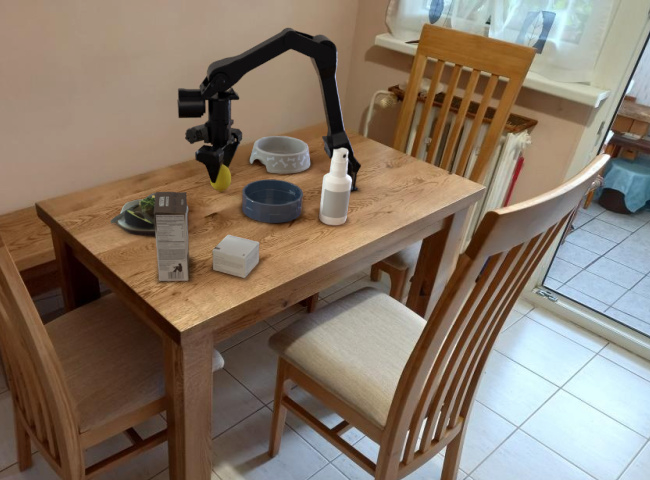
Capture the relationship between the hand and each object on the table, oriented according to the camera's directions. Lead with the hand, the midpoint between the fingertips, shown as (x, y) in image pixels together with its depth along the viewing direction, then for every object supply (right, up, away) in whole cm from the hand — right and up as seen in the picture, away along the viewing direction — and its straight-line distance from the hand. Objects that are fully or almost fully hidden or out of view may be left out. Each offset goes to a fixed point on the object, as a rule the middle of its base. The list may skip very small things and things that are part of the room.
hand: (219, 175), depth 152 cm
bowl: (+14, -10, -5) cm, 17 cm away
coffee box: (-8, -26, -29) cm, 40 cm away
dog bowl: (+17, +9, +21) cm, 28 cm away
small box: (+5, -25, -27) cm, 37 cm away
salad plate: (-16, -14, -11) cm, 24 cm away
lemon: (0, -4, +3) cm, 5 cm away
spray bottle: (+29, -13, -8) cm, 32 cm away
